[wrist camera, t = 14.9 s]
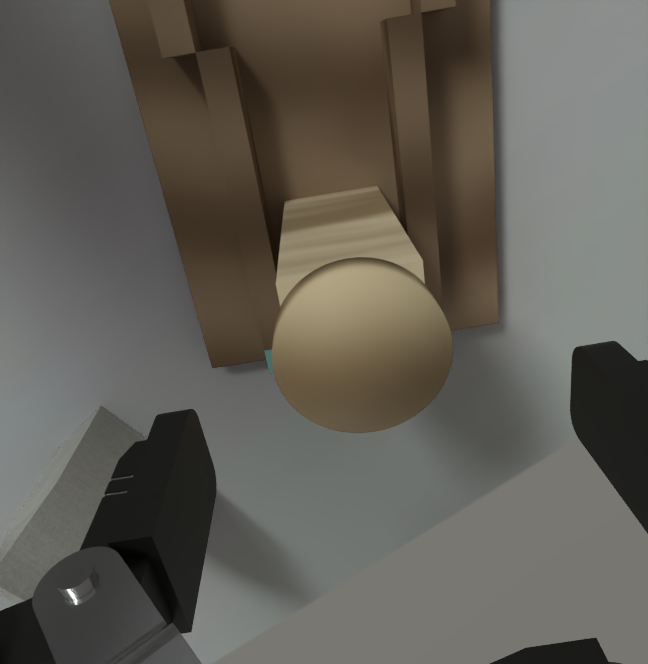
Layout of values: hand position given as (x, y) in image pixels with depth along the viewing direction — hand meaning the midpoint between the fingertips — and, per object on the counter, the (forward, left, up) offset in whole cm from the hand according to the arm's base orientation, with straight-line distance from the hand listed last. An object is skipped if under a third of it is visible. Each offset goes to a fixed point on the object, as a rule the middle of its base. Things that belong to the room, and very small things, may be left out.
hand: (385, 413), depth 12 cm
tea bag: (+11, -13, -16) cm, 23 cm away
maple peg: (0, 0, -14) cm, 14 cm away
